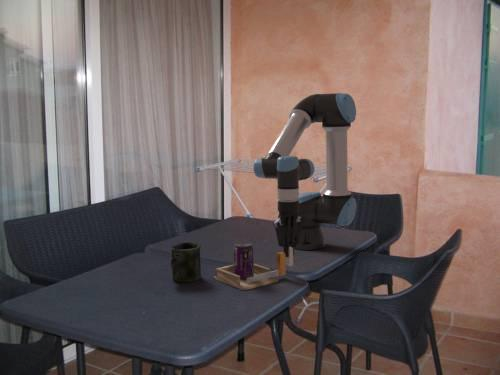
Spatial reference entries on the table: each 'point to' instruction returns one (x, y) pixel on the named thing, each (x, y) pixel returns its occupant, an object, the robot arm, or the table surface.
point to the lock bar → (279, 272)
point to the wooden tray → (234, 280)
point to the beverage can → (243, 260)
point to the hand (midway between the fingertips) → (289, 265)
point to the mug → (186, 262)
